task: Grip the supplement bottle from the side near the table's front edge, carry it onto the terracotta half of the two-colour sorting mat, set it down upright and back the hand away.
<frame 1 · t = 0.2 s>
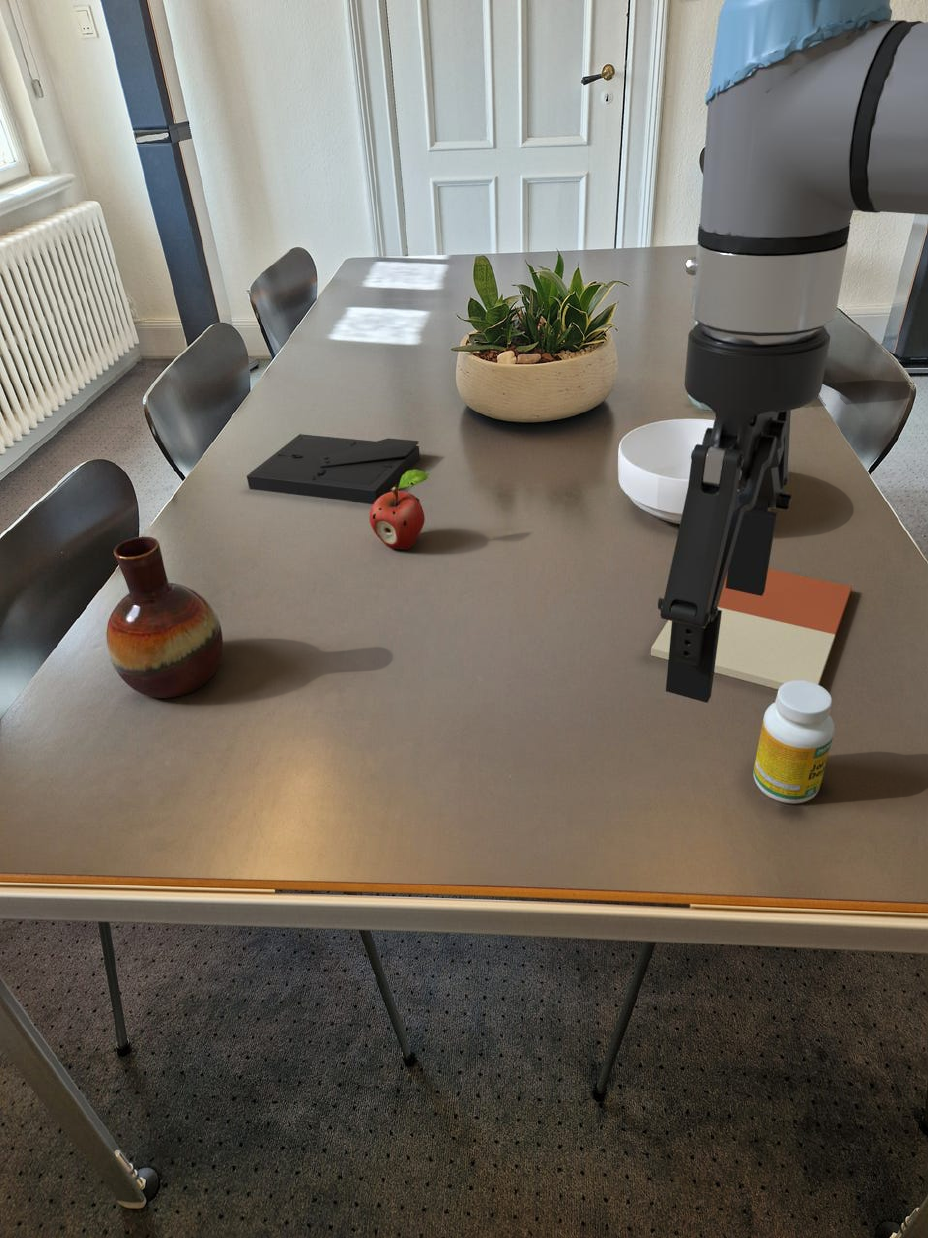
hand: (718, 638, 59), 18 cm above the table, tool pointing down, fingers open, 13 cm apart
apple: (403, 545, 109), on the table
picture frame: (336, 474, 128), on the table
vase: (177, 676, 89), on the table
bowl: (690, 508, 113), on the table
supplement bottle: (785, 784, 72), on the table
sorting mat: (754, 623, 91), on the table
water bottle: (718, 403, 142), on the table
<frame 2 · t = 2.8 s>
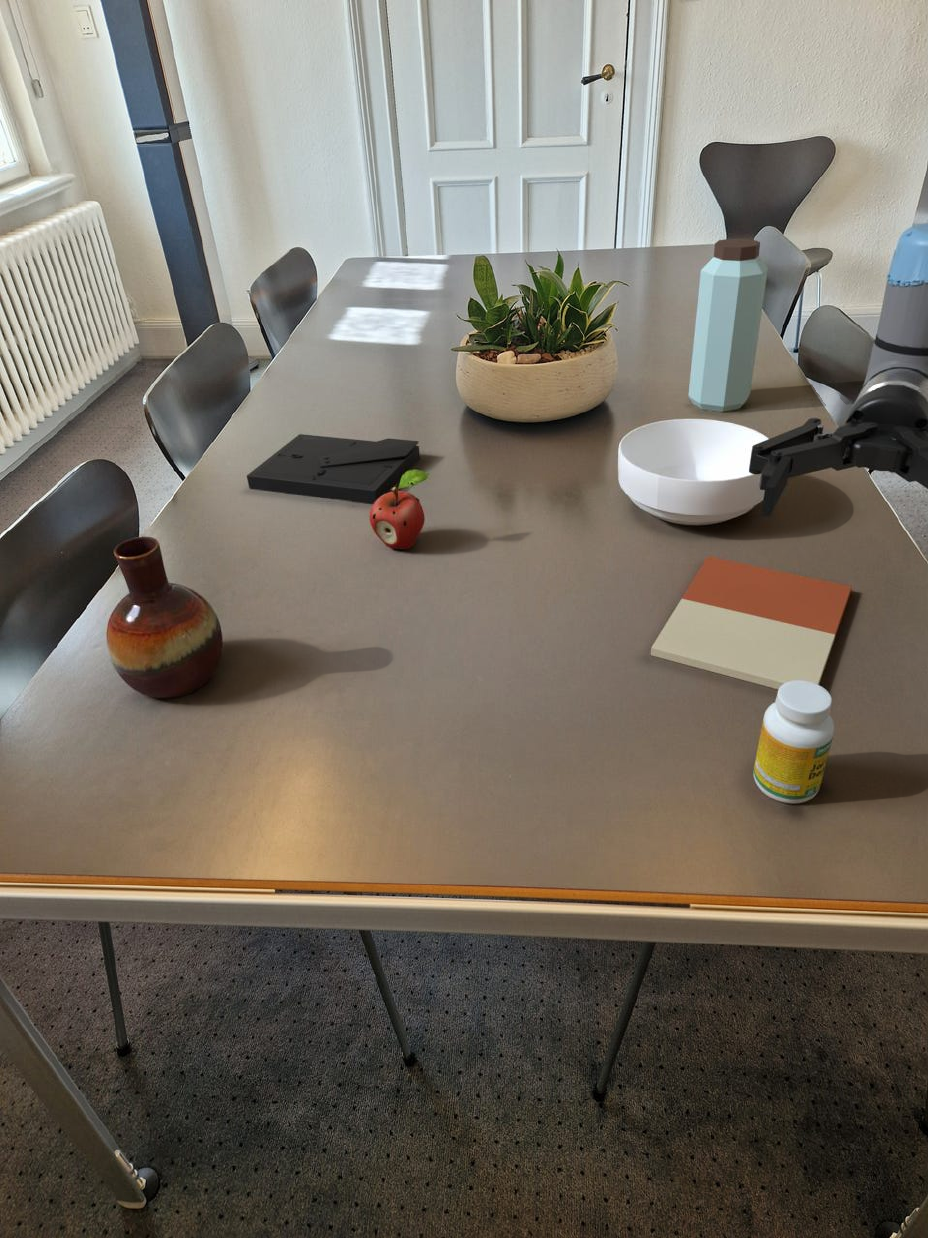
hand: (854, 517, 68), 20 cm above the table, tool horizontal, fingers open, 13 cm apart
nothing on the table moved.
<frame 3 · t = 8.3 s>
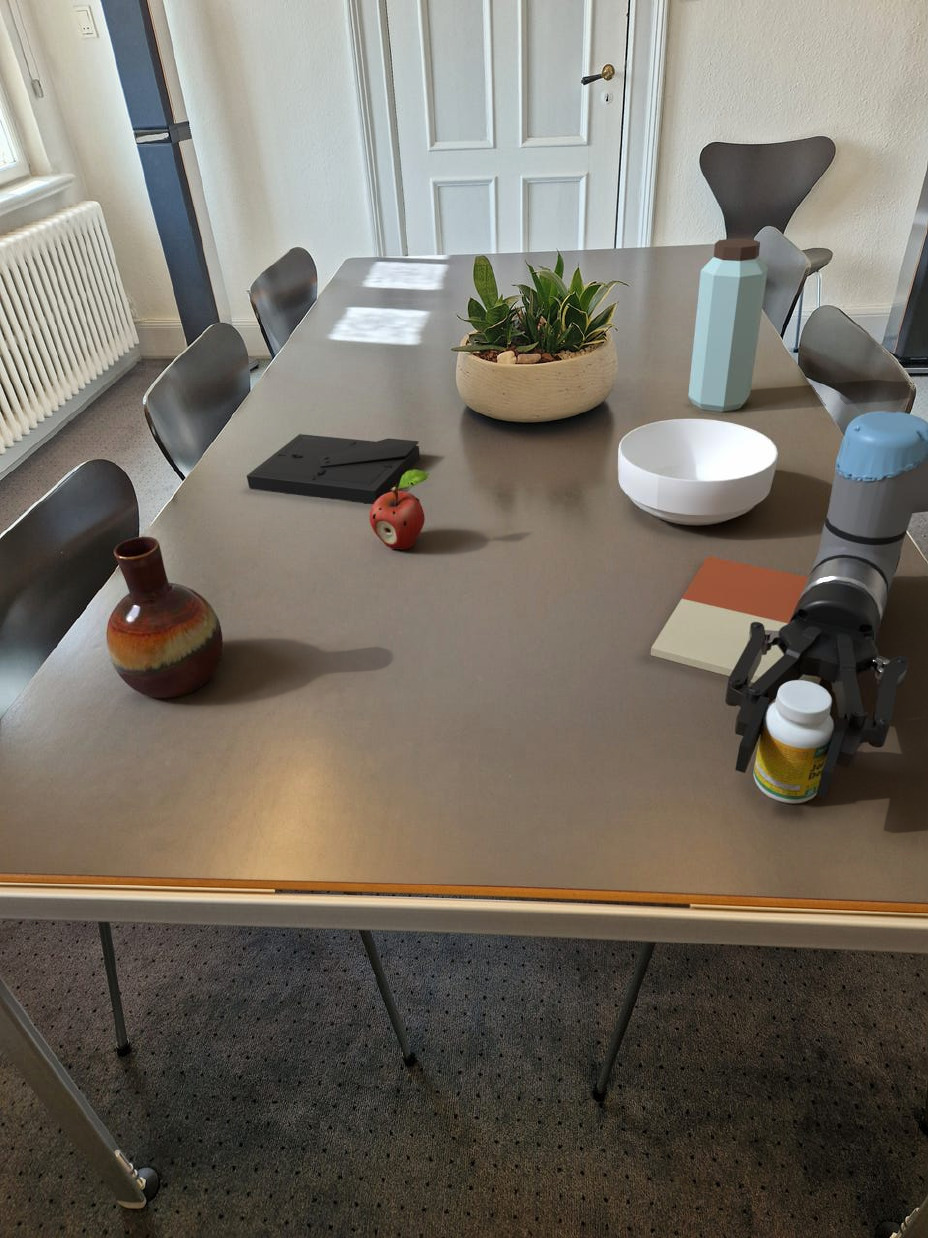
hand: (782, 771, 65), 6 cm above the table, tool horizontal, fingers closed on supplement bottle, 5 cm apart
supplement bottle: (785, 784, 72), on the table, touching gripper
everything else where it was.
when the fingers open (7 cm above the table, at t = 17.2 s): supplement bottle stays where it is, resting on sorting mat.
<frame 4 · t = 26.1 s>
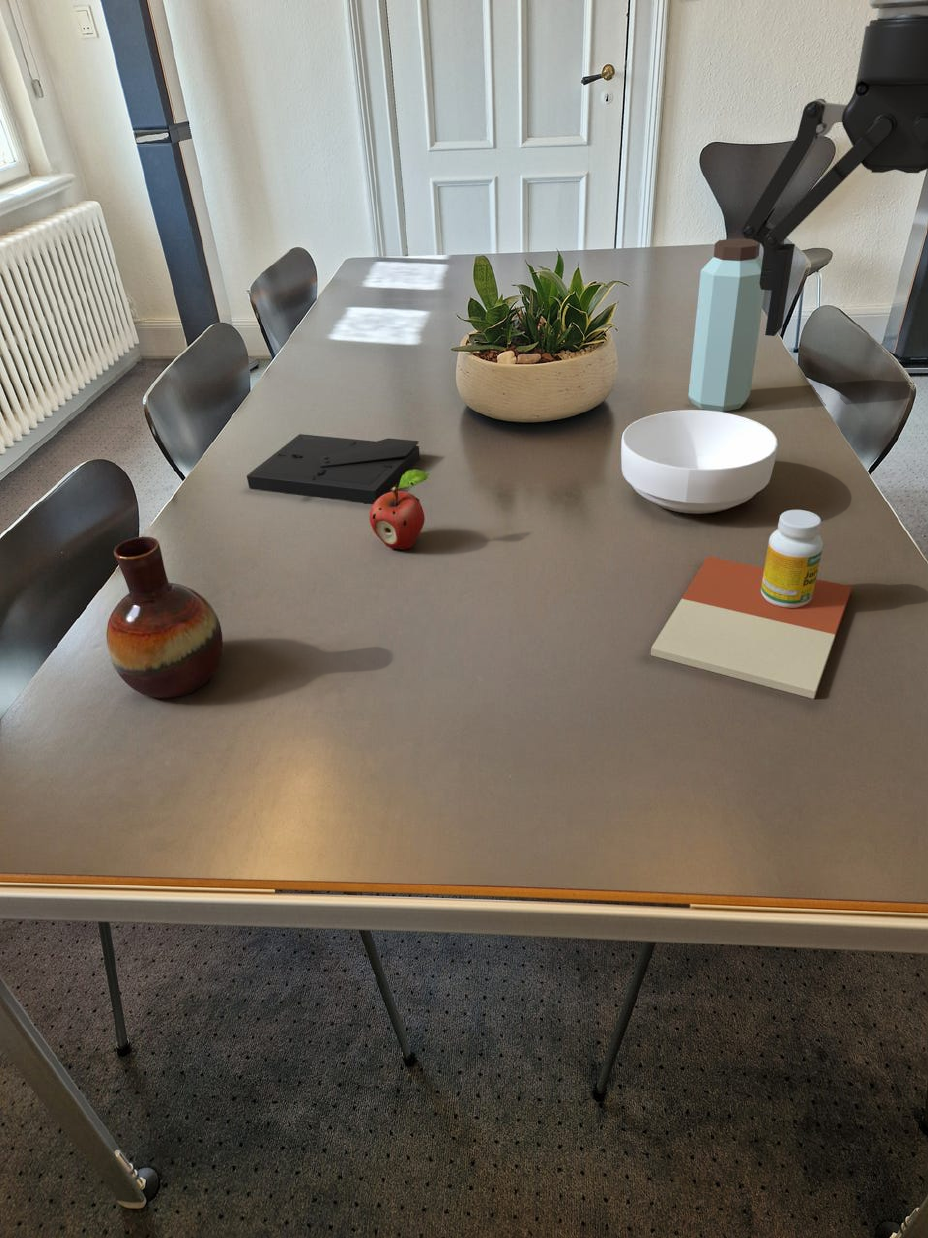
hand: (861, 339, 68), 32 cm above the table, tool pointing down, fingers open, 13 cm apart
bowl: (692, 497, 115), on the table
supplement bottle: (785, 597, 93), point 1 cm above the table, touching sorting mat
everything else where it was.
at the end: supplement bottle inside the target area on the sorting mat (2.0 cm from its centre), point 0.8 cm above the sorting mat's base; supplement bottle tilted 0°; the gripper is holding nothing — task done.
